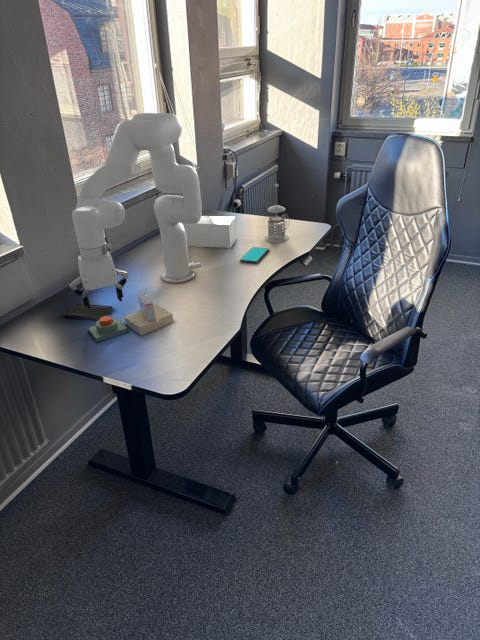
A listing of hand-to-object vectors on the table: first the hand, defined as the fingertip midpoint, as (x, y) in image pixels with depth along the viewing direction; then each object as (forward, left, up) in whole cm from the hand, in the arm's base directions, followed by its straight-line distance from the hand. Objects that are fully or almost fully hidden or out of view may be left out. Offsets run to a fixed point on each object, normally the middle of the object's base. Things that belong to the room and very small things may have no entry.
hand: (104, 303), depth 141 cm
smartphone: (-71, -22, -10) cm, 75 cm away
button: (+1, 0, -7) cm, 7 cm away
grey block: (-12, +3, -7) cm, 14 cm away
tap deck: (-12, +3, -10) cm, 16 cm away
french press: (-91, -32, -10) cm, 97 cm away
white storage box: (-61, -52, -10) cm, 81 cm away
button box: (+1, 0, -10) cm, 10 cm away
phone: (+2, -16, -10) cm, 19 cm away
